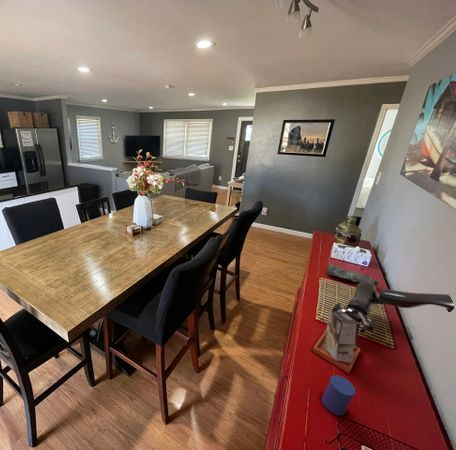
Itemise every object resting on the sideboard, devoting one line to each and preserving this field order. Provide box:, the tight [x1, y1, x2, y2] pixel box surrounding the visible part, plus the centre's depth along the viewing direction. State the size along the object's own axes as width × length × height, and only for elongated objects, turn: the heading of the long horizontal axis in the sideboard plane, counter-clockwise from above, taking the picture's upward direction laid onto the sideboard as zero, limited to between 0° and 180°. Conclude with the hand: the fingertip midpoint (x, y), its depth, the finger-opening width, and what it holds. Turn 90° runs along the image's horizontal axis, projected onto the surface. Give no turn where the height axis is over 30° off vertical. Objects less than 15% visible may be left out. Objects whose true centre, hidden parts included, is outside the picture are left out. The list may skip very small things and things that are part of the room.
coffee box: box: [323, 310, 361, 363], centre depth 95 cm, size 9×6×16 cm
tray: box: [312, 329, 361, 374], centre depth 98 cm, size 13×15×2 cm
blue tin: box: [321, 374, 356, 416], centre depth 77 cm, size 6×6×10 cm
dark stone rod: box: [325, 263, 379, 286], centre depth 145 cm, size 13×7×25 cm
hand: (348, 324), depth 98 cm, fingers open, 8 cm apart
